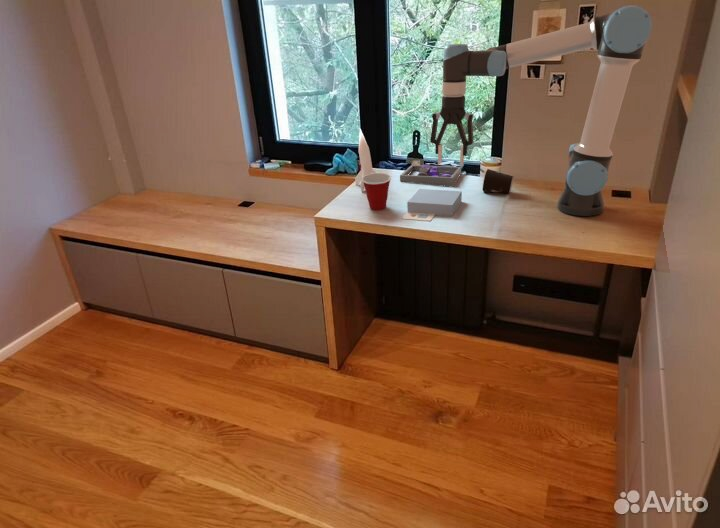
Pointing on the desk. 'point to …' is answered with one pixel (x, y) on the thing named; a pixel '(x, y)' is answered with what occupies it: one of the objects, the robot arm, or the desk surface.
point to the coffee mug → (497, 182)
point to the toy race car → (432, 172)
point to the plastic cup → (377, 189)
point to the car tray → (431, 179)
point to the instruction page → (418, 216)
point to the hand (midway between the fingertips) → (450, 163)
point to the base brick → (435, 202)
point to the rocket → (364, 161)
